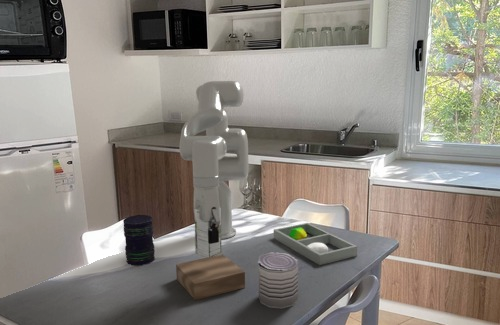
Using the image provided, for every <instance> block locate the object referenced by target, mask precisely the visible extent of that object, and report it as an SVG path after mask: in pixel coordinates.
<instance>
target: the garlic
mask: <svg viewBox="0 0 500 325" xmlns="http://www.w3.org/2000/svg"><path fill="white" fill-rule="evenodd" d="M307 247H309V248H311V249H313V250H315V251H317V252H318V253H320V254H321V253H325V252H329V247H328V246H327V244H323V243H311V244H310V245H307Z"/></svg>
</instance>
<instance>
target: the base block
mask: <svg viewBox="0 0 500 325" xmlns="http://www.w3.org/2000/svg"><path fill="white" fill-rule="evenodd" d="M175 270H176V271H175V272H176V280H177V281H178V282H179V283H180V285H181V286H182V287H183V288H184V289H185V290H186V291H187V293H188V294H189V295H190V296H191V297H192V298H193V300H194V301H198V300H202V299H206V298H209V297H213V296H218V295H221V294H226V293H229V292H233V291H236V290H240V289H245V288H246V272H245V271H244V270H243V269H242V268H241V267H239V265H237V264H236V263H234V262H233V261H232V260H231V259H229V258H228V257H227V256H226V255H224V253H223V254H222V253H220V254H217V255H214V256H212V257H210V258H208V257H204V258H198V259H194V260H189V261H185V262H180V263H179V262H178V263H176V264H175Z"/></svg>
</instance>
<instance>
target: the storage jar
mask: <svg viewBox="0 0 500 325" xmlns="http://www.w3.org/2000/svg"><path fill="white" fill-rule="evenodd" d="M122 222H123V235H124V238H125V247H124V250H125V251H124V252H125V254H124V255H125V259H126V264H127V265H128V266H129V265H130V266H134V267H140V266H146V265H148V264H151V263H153V262H154V261H155V259H156V258H155V243H154V238H153V235H154V224H153V216H151V215H147V214H136V215H135V214H134V215H131V216H128V217H125V218H124V219H123V220H122Z"/></svg>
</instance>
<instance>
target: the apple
mask: <svg viewBox="0 0 500 325" xmlns="http://www.w3.org/2000/svg"><path fill="white" fill-rule="evenodd" d="M307 236H308V234H307V232H305V231H304V230H303V229H302V228H301V227H300V228H295V229H292V230H291V232H290V235H289V237H291V238H293V239H295V240H301V239H306V238H308V237H307Z"/></svg>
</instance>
